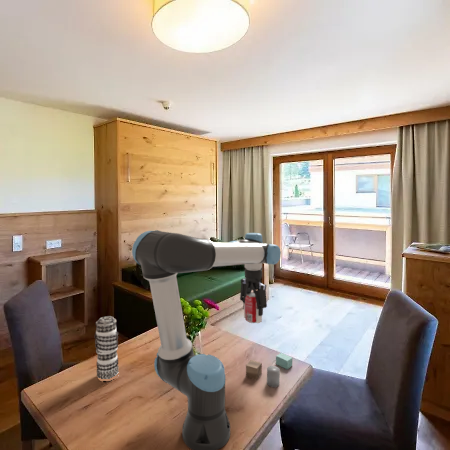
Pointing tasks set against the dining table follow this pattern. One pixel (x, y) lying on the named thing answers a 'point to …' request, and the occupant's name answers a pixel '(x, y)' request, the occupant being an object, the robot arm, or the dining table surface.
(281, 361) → the teal block
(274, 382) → the grey capsule
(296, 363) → the dining table surface
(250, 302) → the soda can
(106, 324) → the decorative candle
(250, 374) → the tan block
